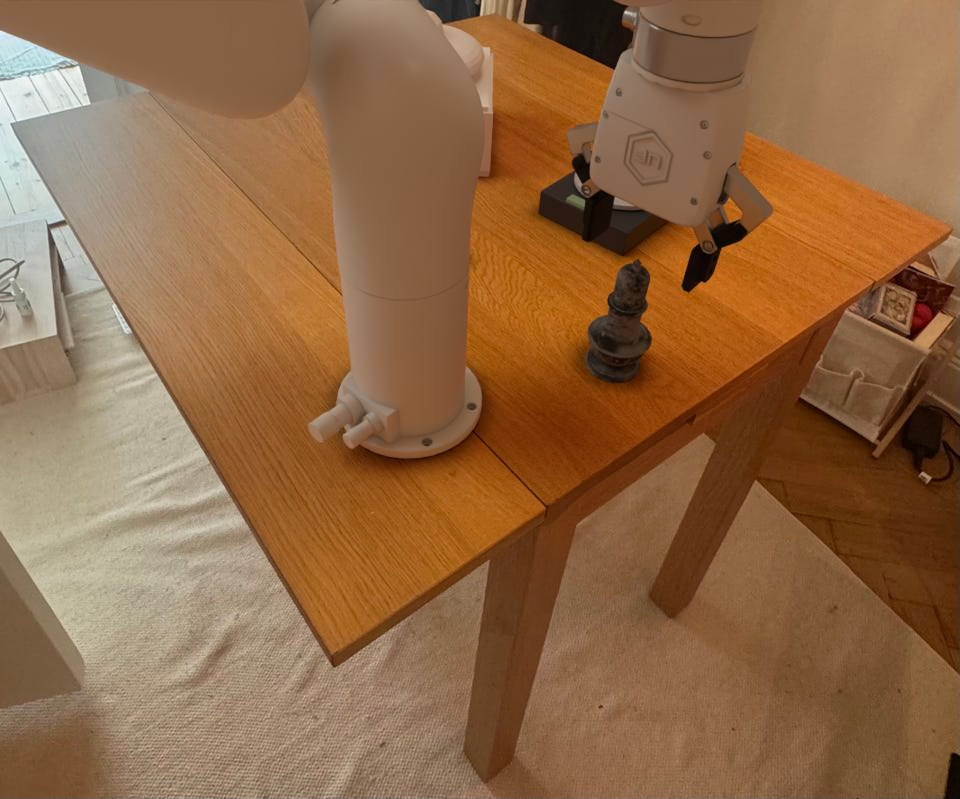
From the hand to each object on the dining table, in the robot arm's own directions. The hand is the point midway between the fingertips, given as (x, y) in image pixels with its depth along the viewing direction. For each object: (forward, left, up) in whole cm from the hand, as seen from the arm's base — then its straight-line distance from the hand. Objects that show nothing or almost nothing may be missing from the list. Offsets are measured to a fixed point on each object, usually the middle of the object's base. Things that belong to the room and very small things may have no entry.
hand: (643, 258), depth 61 cm
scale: (+22, +15, -12) cm, 29 cm away
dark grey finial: (0, 0, -12) cm, 12 cm away
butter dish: (+18, +43, -12) cm, 48 cm away
